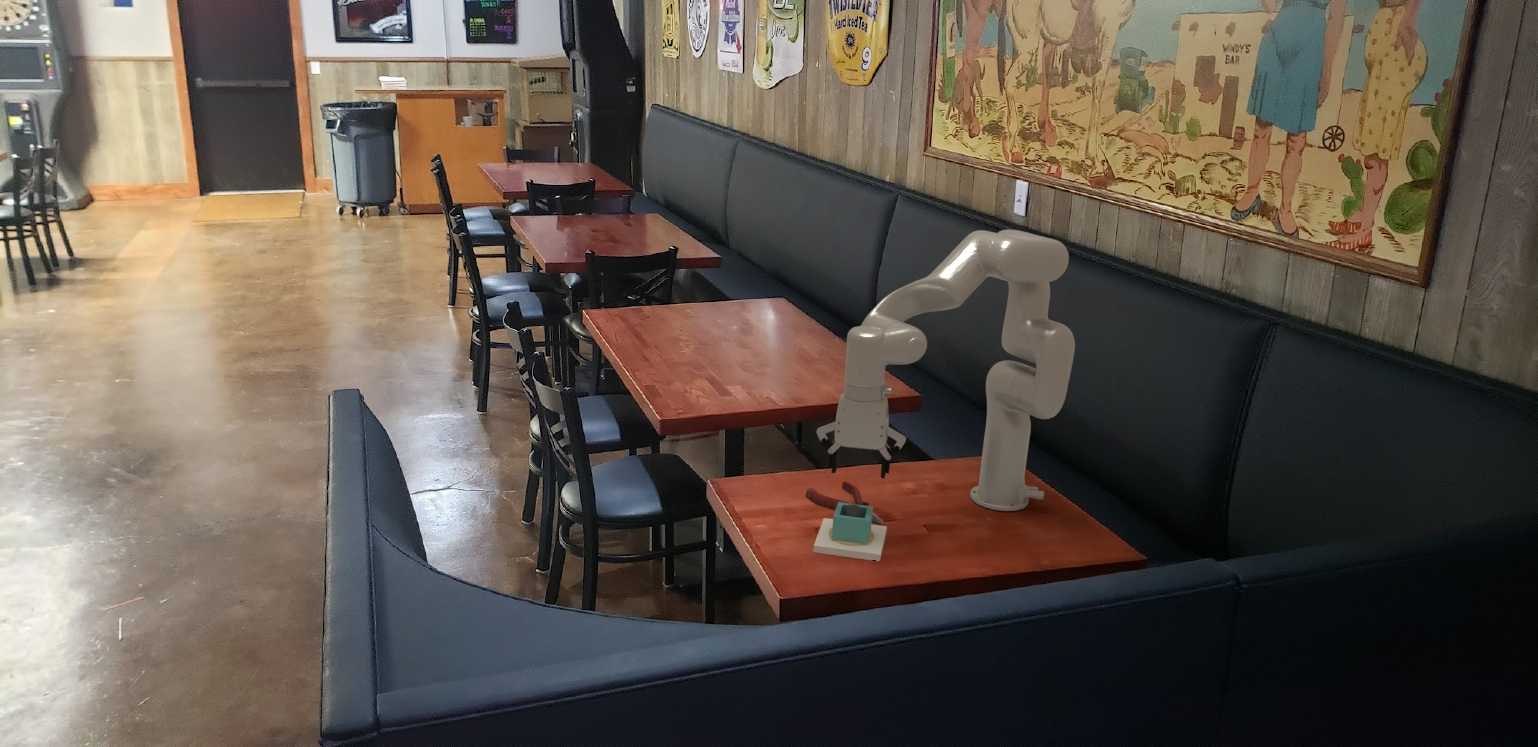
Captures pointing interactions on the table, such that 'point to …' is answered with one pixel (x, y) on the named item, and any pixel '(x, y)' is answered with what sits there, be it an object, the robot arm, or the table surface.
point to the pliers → (833, 502)
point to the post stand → (850, 549)
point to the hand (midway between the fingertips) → (858, 473)
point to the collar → (852, 524)
